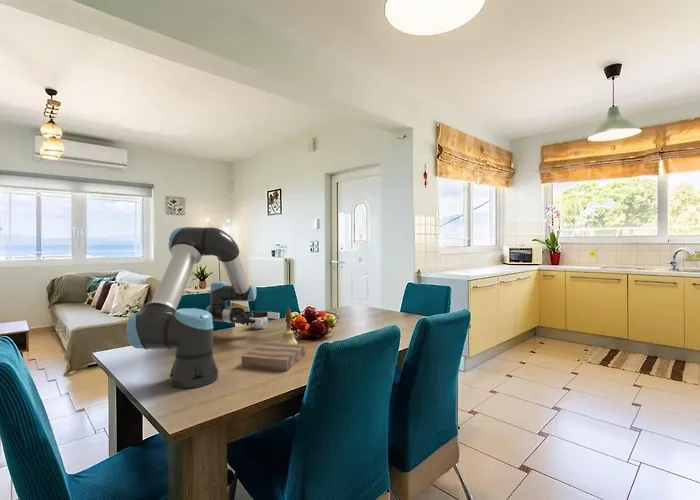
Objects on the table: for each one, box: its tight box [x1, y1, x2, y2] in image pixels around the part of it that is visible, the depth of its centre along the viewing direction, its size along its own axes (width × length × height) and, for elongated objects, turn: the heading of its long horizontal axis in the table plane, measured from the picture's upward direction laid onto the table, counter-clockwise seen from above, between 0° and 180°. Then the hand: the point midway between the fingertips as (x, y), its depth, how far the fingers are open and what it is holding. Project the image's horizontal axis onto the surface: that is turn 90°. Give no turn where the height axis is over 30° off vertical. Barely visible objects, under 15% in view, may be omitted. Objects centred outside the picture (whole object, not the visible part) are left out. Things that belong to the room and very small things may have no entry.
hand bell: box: [279, 308, 299, 344], centre depth 167 cm, size 8×8×16 cm
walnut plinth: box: [241, 341, 307, 372], centre depth 144 cm, size 20×18×4 cm
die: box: [252, 317, 269, 330], centre depth 196 cm, size 8×9×10 cm
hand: (270, 318), depth 171 cm, fingers open, 13 cm apart
